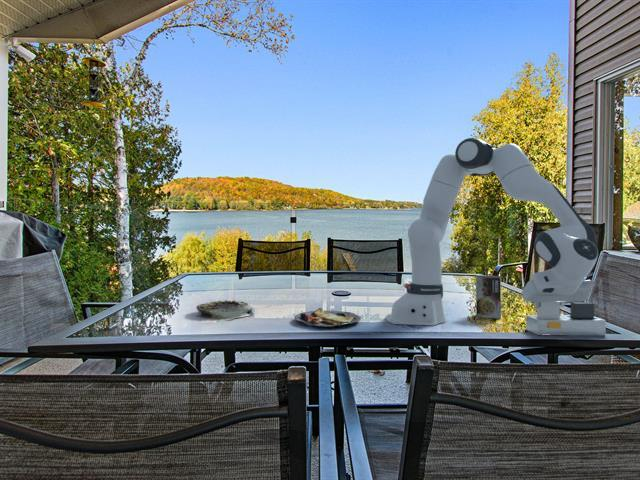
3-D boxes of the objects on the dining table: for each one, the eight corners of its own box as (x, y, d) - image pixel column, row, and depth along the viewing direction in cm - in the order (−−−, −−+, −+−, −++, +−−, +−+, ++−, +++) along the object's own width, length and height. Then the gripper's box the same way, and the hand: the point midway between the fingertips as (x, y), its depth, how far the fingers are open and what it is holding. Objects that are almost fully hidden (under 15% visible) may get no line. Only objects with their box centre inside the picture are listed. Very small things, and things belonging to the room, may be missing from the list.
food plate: (282, 321, 161) (282, 312, 160) (323, 312, 178) (323, 304, 178) (332, 334, 144) (332, 324, 143) (372, 323, 161) (372, 314, 161)
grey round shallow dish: (206, 325, 157) (206, 312, 157) (176, 315, 178) (176, 303, 177) (268, 314, 176) (268, 302, 176) (235, 306, 196) (234, 295, 196)
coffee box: (501, 315, 169) (501, 275, 168) (500, 319, 163) (501, 277, 162) (477, 314, 173) (477, 274, 172) (475, 317, 167) (475, 276, 166)
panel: (541, 322, 141) (541, 295, 141) (537, 320, 144) (537, 294, 144) (559, 322, 141) (559, 295, 141) (554, 320, 144) (554, 294, 144)
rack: (538, 335, 138) (538, 305, 138) (526, 329, 147) (526, 300, 146) (606, 335, 138) (606, 305, 138) (590, 329, 146) (590, 300, 146)
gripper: (592, 272, 135) (574, 298, 145) (528, 273, 135) (514, 298, 145) (601, 288, 130) (582, 313, 141) (535, 289, 131) (520, 314, 141)
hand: (547, 306), depth 143 cm, fingers closed on panel, 6 cm apart
